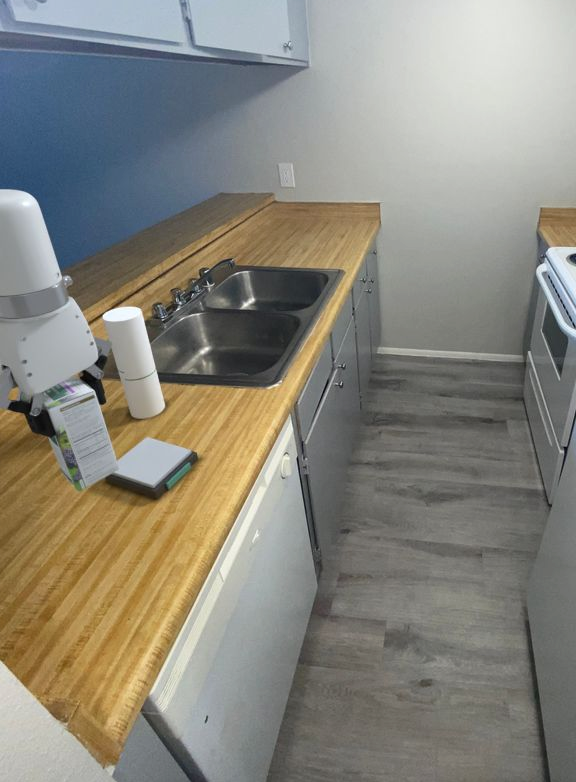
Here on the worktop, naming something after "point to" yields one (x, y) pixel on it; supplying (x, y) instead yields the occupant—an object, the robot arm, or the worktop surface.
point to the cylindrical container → (134, 361)
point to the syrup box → (79, 433)
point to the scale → (152, 467)
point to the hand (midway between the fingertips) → (72, 416)
